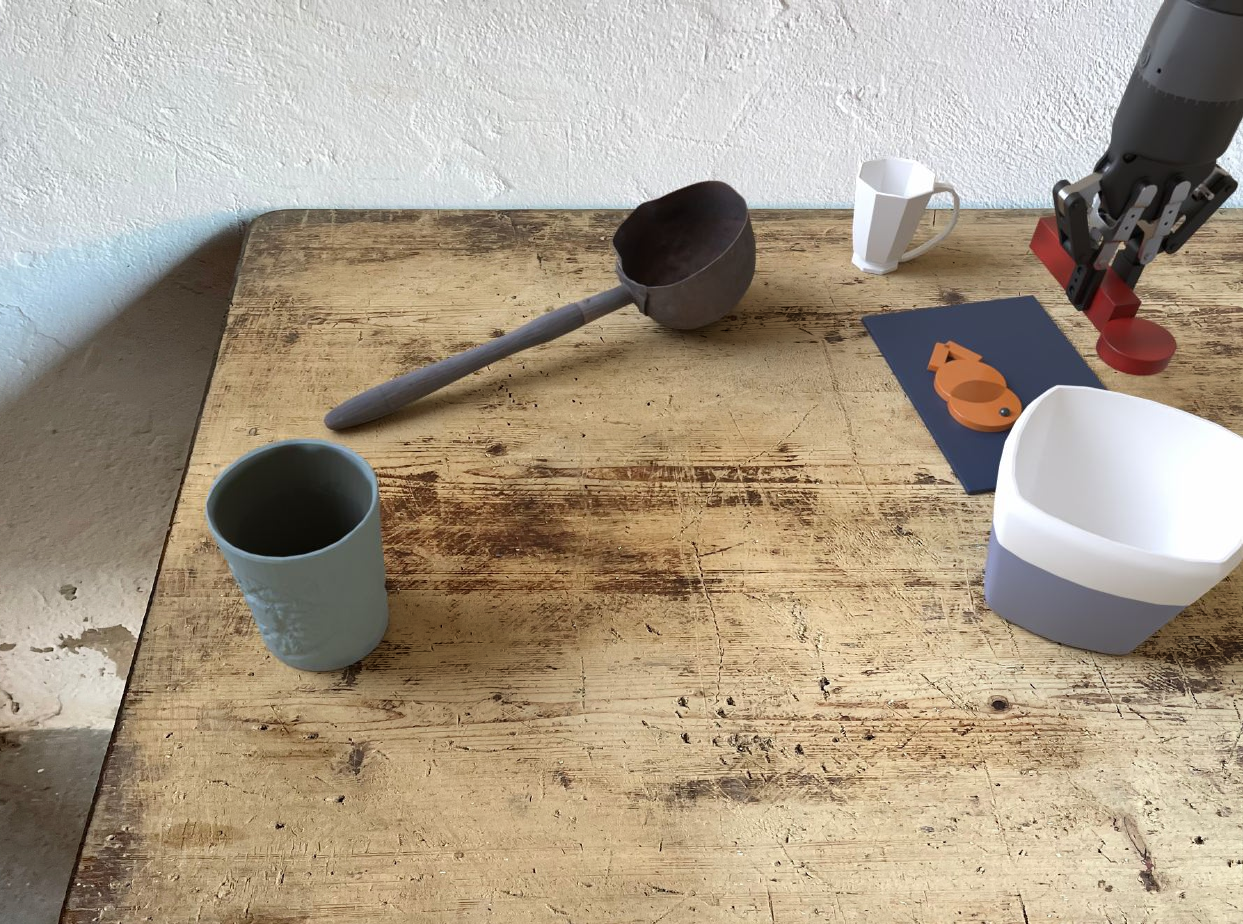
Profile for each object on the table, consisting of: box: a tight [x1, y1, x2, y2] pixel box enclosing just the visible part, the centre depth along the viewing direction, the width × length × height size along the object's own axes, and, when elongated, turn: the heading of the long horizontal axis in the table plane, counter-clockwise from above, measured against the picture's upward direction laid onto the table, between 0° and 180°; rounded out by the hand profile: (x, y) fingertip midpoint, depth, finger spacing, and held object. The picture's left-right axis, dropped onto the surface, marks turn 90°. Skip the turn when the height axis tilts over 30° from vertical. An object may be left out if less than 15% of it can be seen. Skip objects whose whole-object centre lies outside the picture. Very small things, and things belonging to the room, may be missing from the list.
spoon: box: [1028, 215, 1178, 377], centre depth 85 cm, size 17×5×3 cm, turn 12°
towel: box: [860, 294, 1109, 496], centre depth 91 cm, size 16×22×1 cm
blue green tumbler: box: [205, 438, 390, 672], centre depth 71 cm, size 10×10×12 cm
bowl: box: [983, 385, 1243, 655], centre depth 74 cm, size 15×15×11 cm
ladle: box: [323, 180, 757, 431], centre depth 92 cm, size 12×38×10 cm, turn 119°
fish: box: [927, 341, 1022, 432], centre depth 90 cm, size 11×6×1 cm, turn 12°
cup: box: [851, 155, 961, 276], centre depth 99 cm, size 7×10×8 cm
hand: (1094, 302), depth 86 cm, fingers closed on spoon, 2 cm apart
